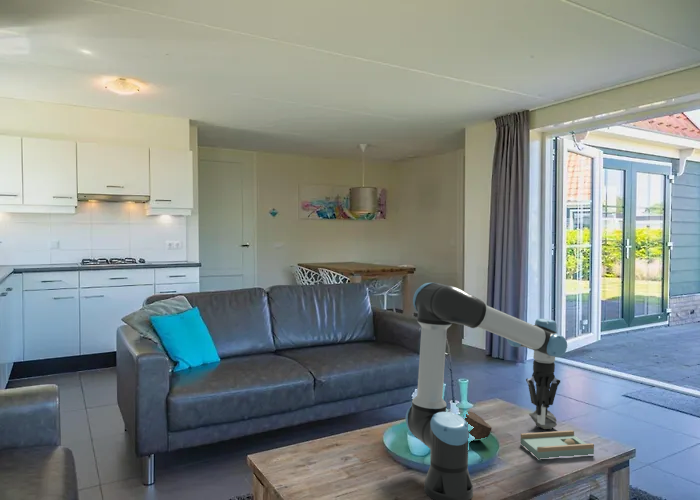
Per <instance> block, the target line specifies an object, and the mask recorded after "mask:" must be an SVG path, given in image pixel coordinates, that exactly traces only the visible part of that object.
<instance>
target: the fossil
mask: <svg viewBox="0 0 700 500" xmlns="http://www.w3.org/2000/svg"><path fill="white" fill-rule="evenodd" d="M528 415H529V417H530V418H531V419H532V421H533V422H534V423H535V427H537V426H538V427H537V428H539V427H541V428H540V429H543V430H545V429H550V430H553V429H554V428H556V427H557V425H558V424H557V418H556V416H555V414H554V413H552V412H551V411H550V410H548V409H547V415H545V425H541V424H539V423H538V422H537V418H538V415H537V414H536V410H534V411H533V412H532V413H529V414H528ZM552 428H553V429H552Z"/></svg>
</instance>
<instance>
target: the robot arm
mask: <svg viewBox="0 0 700 500" xmlns="http://www.w3.org/2000/svg"><path fill="white" fill-rule="evenodd" d="M412 303H413V304H412V305H413V307H414V309H415V311H417V321H416V322H417V323H418V324H419V326H420V327H421V331H420V343H419V344H420V346H419V347H420V349H419V361H418V376H417V394H416V396H415V397H414V398H412V402H411V404H410V407H408V408H407V410H406V413H405V424H406V428H407V429H408V430H409V432H410V433H411V434H412V436H414V438H416V439H417V440H419V441H420V442H421V443H423V444H424V445H425V446H427V447H428V448H429V449H430V454H429V455H430V462H429V463H430V465H429V468H428V470H427V474H426V477H425V478H424V479H425V480H424V493H425V494H426V495H427V496H428V497H429V498H430V499H432V500H471V499H473V496H474V485H473V482H472V479H471V476H470V472H469V467H468V465H469V441H468V438H469V431H468V424H467V422H466V421H465V419H464V418H463V417H462V416H461V415H459V414H457V413H453V412H449V411H447V405H448V404H447V402H446V401H445V400H444V398H443V393H444V379H445V366H446V365H445V363H446V350H447V349H446V347H447V331H448V329H449V328H450V327H451V326H452V324H457V325H460V326H464V327H465V326H466V327H467V328H471V329H476V328H479V329H482V330H484V331H486V332H489V333H492V334H495V335H496V336H498V337H501V338H505V339H506V341H507V343H508V344H509V346H510V347H515V348H522V347H523V348H525V349H526V348H527V349H528V350H532V351H533V363H532V364H533V365H532V371H533V372H532V374H531V377H529V378H526V379H525V381H526V384H527V386H528V392H529V396H530V397H529V398H530V403H531V404H533V405H534V406H535V411H536V414H537V415H538V418H537V422H538V423H539V424H541V425H545V415H547V410H548V408H550V406H553V404H554V400H555V398H556V393H557V390H558V387H559V386H560V384H561V380H560V379H559V378H556V377H555V369H556V363H555V361H556V358H560V357H562V356H564V355H565V354H566V351H567V348H568V342H567V341H568V340H566V338H565V337H564V336H563V335H561V334H558V332H557V331H558V329H557V328H558V327H557V326H558V325H557V322H556V321H555V320H554V319H548V318H537V319H536V320H534V321H535V323H534V324H531V323H529V322H527V321H524V320H522V319H520V318H517V317H515V316H512V315H510V314H507V313H505V312H503V311H502V310H498V309H496V308H493V307H491V306H489V305H487V304H486V302H485V300H483V299H480V298H478V297H476V296H474V295H472V294H470V293H468V292H466V291H465V290H463V289H461V288H459V287H456V286H453V285H447V284H442V283H439V282H425V283H424V284H422V285H420V286H419V287H418V288H417V289H416V290H415V292H414V295H413V298H412Z"/></svg>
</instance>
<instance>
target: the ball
mask: <svg viewBox="0 0 700 500" xmlns="http://www.w3.org/2000/svg"><path fill="white" fill-rule="evenodd" d="M564 443H566V444H567V445H574V444H575V442H574V441H573V440H572V439H566V440H565V441H564Z"/></svg>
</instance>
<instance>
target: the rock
mask: <svg viewBox="0 0 700 500" xmlns="http://www.w3.org/2000/svg"><path fill="white" fill-rule="evenodd" d="M467 412H468V414H469V415H467V414H466V417H467V418H465V421H466V422H468V424H470V425H471V426H473V427H474V428H473V429H472V430H471V431H470V432H469V433H470V434H471V435H472V436H474V437H475V439H481V438H485V437H487V438H488V437H490V434H491V432H492V430H493V429H492V427H491V425H489V423H488V422H487V421H485V420H484V419H483V418H482V417H481V416H480V415H478V414H477V413H475V412H472V411H467Z"/></svg>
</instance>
